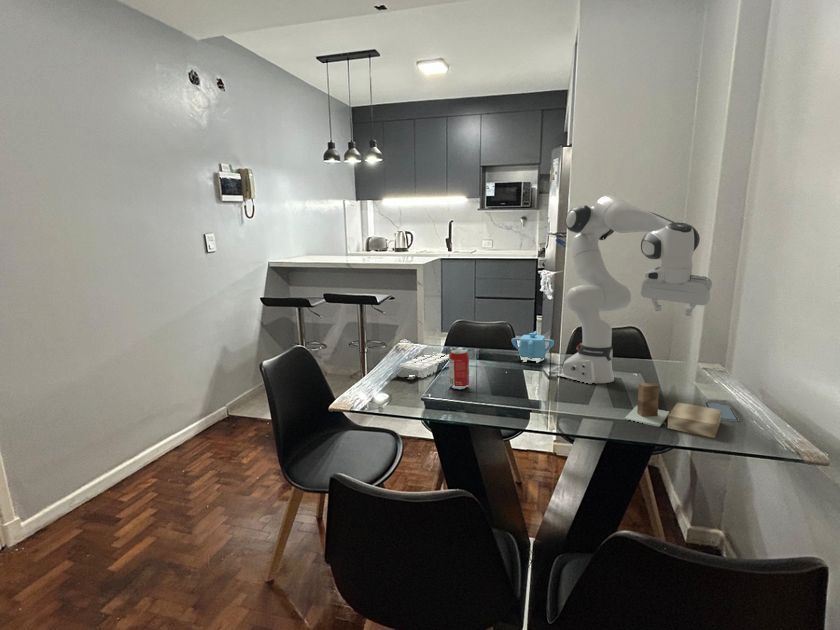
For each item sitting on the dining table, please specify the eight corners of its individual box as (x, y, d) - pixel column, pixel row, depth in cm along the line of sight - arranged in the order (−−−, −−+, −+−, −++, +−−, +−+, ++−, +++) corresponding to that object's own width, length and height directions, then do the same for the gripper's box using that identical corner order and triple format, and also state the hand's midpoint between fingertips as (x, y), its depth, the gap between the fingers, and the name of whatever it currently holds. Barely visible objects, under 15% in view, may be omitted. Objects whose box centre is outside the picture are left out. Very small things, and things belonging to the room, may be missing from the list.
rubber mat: (624, 419, 143) (624, 418, 143) (636, 407, 154) (636, 405, 154) (659, 427, 137) (659, 425, 137) (669, 413, 148) (669, 411, 147)
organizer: (454, 355, 215) (413, 373, 186) (454, 365, 216) (413, 384, 187) (431, 352, 222) (387, 369, 193) (431, 361, 223) (388, 379, 194)
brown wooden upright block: (641, 416, 144) (643, 386, 142) (637, 413, 147) (638, 383, 145) (657, 416, 144) (659, 385, 142) (652, 412, 147) (654, 383, 145)
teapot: (557, 362, 214) (557, 334, 212) (526, 366, 209) (527, 337, 207) (535, 354, 231) (536, 328, 229) (507, 357, 226) (507, 331, 224)
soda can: (446, 389, 178) (445, 352, 176) (454, 384, 185) (453, 348, 182) (464, 392, 174) (464, 354, 172) (472, 386, 181) (471, 349, 179)
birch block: (667, 428, 136) (668, 415, 135) (676, 414, 147) (677, 402, 146) (714, 437, 128) (715, 424, 128) (720, 422, 139) (721, 410, 139)
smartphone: (711, 418, 142) (703, 401, 156) (711, 421, 142) (703, 404, 156) (740, 421, 139) (729, 404, 153) (739, 424, 139) (729, 406, 153)
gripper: (715, 274, 143) (710, 314, 148) (647, 267, 157) (645, 305, 162) (709, 280, 139) (705, 321, 144) (640, 273, 153) (638, 311, 158)
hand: (672, 312), depth 153 cm, fingers open, 8 cm apart
